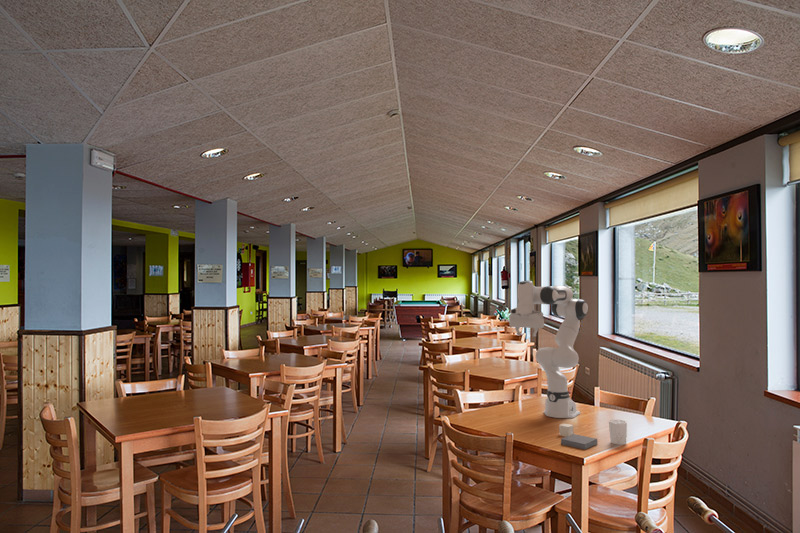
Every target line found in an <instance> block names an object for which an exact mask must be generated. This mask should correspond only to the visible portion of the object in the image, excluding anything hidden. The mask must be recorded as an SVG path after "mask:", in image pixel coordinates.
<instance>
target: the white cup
mask: <svg viewBox="0 0 800 533" xmlns="http://www.w3.org/2000/svg"><path fill="white" fill-rule="evenodd" d="M608 426H609V438H610V443H611V444H614V445H617V446H624V445H626V444H627V436H628V433H627V432H628V429H627V428H628V422H627V421H626V420H623V419H609V420H608Z"/></svg>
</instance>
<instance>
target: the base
mask: <svg viewBox="0 0 800 533" xmlns="http://www.w3.org/2000/svg"><path fill="white" fill-rule="evenodd" d="M560 444H561V445H563V446H567V447H572V448H576V449H580V450H588V449H590V448H592V447H594V446H597V445H598V438H595V437H590V436H585V435H580V434H576V433H574V434H572V435H570V436H567V437H566V436H563V437H562V438H561V439H560Z"/></svg>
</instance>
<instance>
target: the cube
mask: <svg viewBox="0 0 800 533" xmlns="http://www.w3.org/2000/svg"><path fill="white" fill-rule="evenodd" d="M558 428H559V429H558V430H559V431H558V432H559V433H558V434H559V436H561V437H567V436H570V435H572V434H575V432H574V424H568V423H561V424H559V426H558Z"/></svg>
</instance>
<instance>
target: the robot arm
mask: <svg viewBox="0 0 800 533" xmlns="http://www.w3.org/2000/svg"><path fill="white" fill-rule="evenodd" d="M533 283H534V282H533V281H532V280H522V281H519V282H518V284H517V307H515V308H512V309H510V310H509V320H508V323H509V324H508V325H509V327H510V328H515V331H516V333H517V334H516V335H517V336H522V332H521V331H520V328H531V329H533V330H534V331H533V332H531V335H532V337H537V333H538V331H539V329H543V328H545V321H544V320H545V319H544V313H543V312H542V311H541V310H535V305H551V312H552V314H553V315H554V316H556V317H563V318H564V319H563V321H562V323H561V324H560V326H559V328H558V330H557V332H556V334H555V337H554V341H555V343H556V345H557V346H558V347H551V346H546V347H539V348H538V349H537V350H536V353H535V360H536V362H537V363H538V364H539V365H540V366H541V368H542V369H543V370H544V372H545V373H544V374H545V376H546V381H547V390H546V396H547V398H545V407H544V410H543V414H544V415H545V416H546V417H549V418H556V419H573V418H576V417H577V416H579V415H580V414H581V411H580V410H577V405H576V402H575V401H573V399H572V398H570V395H572V390H568V378H567V376H566V375H565V374H564V373H562V372H561V370H560V368H562V369H568V368H570V369H571V368H575V367H576V366H577V365H578V364H579V361H580V359H579V354H578V352H577V351H576V350H575V349H574V345H575V343H576V342H575V341H576V339H577V336H578V334H579V332H580V328H581V326H580V325H581V322H580V321H582V320H583V319H584V318H585V317H586V316H587V314H588V313H589V305H588V302H587V300H584V299H581V298H579V299H576V298H573V296H574V293H573V290H572V289H571V288H569V287H567V286H564V285H553V286H551V285H549V286H535V285H534V284H533Z"/></svg>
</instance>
